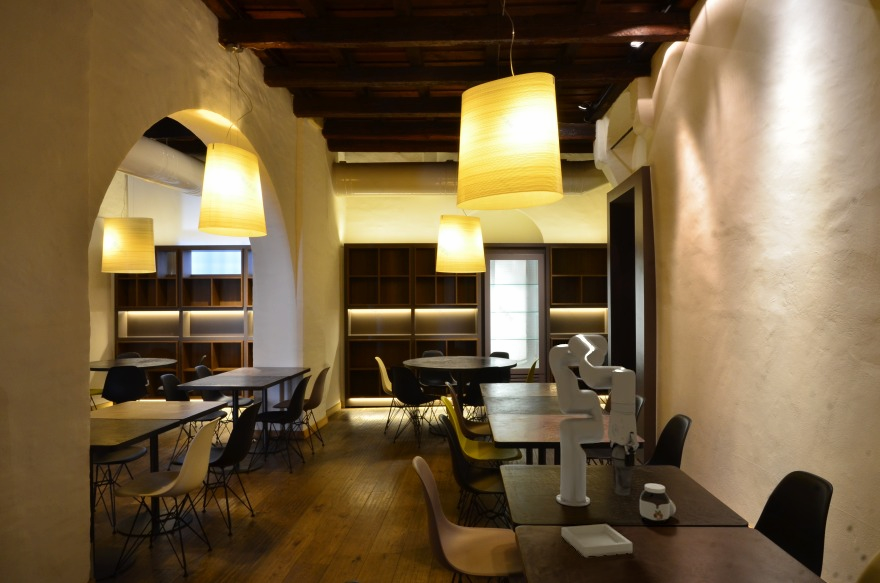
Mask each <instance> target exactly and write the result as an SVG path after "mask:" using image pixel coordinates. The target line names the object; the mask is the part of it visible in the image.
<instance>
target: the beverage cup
mask: <svg viewBox="0 0 880 583" xmlns="http://www.w3.org/2000/svg"><path fill="white" fill-rule="evenodd" d="M630 447H631V446H628V448H629V449H630ZM625 454H626V450H625V447H624V446H622V445H617V446H616V447H615V448H614V449H613V451H612V455H611V454H610V456H611V457H612V459H611V463H612V469H613V484H614V491H615V492H614V493H615V495H619V496H629V495H630V494H631V488H632V487H631V485H632V478H633V477H632V476H633V467H634V466H631V467H626V466H625ZM611 457H610V458H611Z"/></svg>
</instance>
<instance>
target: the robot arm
mask: <svg viewBox="0 0 880 583" xmlns="http://www.w3.org/2000/svg"><path fill="white" fill-rule="evenodd" d="M608 350H609V344H608V340H607V339H606V338H605V337H604V336H603V335H601V334H575V335H574V336H572V337H570V339H569V340H568V342H567V344H566V343H565V344H559V345H555V346H552V348H550V351H549V353H548V363H549V366H550V370H551V373H552V375H553V377H554V381H555V388H556V394H557V402H558V407H559V410H560V412H561V413H562V414H563V415H569V416H577V415H578V416H582V415H584V416H586V417H571V418H564V419H563V420H561V421H560V422H559V424H558V427H557V428H558V437H559V443H560V486H559V489H560V490H559V491H560V494H558V495H556V497H555V499H556V501H557V502H558V503H559V504H561V505H565V506H568V507H584V506H588V505H589V504H591V500H590V498H589V497H588V496H587V454H586V452H585V451H584V449H583V448H582V446H581V444H595V443H596V444H597V443H601V442H602V441H604V438H605V431H606V430H605V424H604V418H603V412H602V410H603V409H602V405H601V401H600V397H599V395H598V394H597V392H595V391H593V390H592V389H594V390H609V389H610V390H611V392H610V394H611V395H610V397H611V398H610V412H609V417H608V429H607V437H608V440H609V442H610V456H611V455H612V451H613V449H614V448H615V447H616V446H617V445H622V446H624V447H625V450H626V454H625V466H626V467H631V466H633V467H635V463H636V462H635V461H636V460H635V454H636V453H637V450H638V447H640V443H639V441H638V440H637V439H638V438H637V436H638V435H637V434H638V433H637V419H636V388H637V387H636V384H637V383H636V382H637V381H636V379H637V378H636V376H637V375H636V373H635V371H634V370H631V369H627V368H625V367H623V366H621V365H620V366H618V365H617V366H616V365H614V366H613V365H609V366H607V365H604V366H603V363H604V362H605V357H606V355H607V354H608ZM569 367H578V371H579V376H580V378H581V380H582V381H583V382H584V384H586V386H588V388H591V390H590V389H580V387H579V382H578V378H577V376H576V374H575V373H574V372H573V371H572V369H571V368H569ZM628 447H630V449H629V448H628ZM610 459H611V460H612V457H610Z"/></svg>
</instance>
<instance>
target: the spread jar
mask: <svg viewBox="0 0 880 583" xmlns="http://www.w3.org/2000/svg"><path fill="white" fill-rule="evenodd" d="M639 496H640V497H639V513H640V516H641V517H642V518H643V519H644V520H645V521H648V522H649V521H650V522H649V523H653V522H656V523H655V524H662V523H661V522H663V523H664V522H667V520H668V519H669V518H670V517H672V516H673V515H674V514H675V513H676V511H677V510H676V509H677V507H676V504H675V503H674V501H672V500H671V499H670V497H669V496H668V494H667V493H666V486H664V485H662V484H659V483H650V482H649V483H645V484H644V490H643V491H642V492H641V494H640V495H639Z"/></svg>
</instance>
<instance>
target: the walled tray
mask: <svg viewBox="0 0 880 583" xmlns="http://www.w3.org/2000/svg"><path fill="white" fill-rule="evenodd" d="M561 536H562V537H563V538H564V540H565V542H567V543H568V542H569V543H570V544H571V545H572V546H573V547H574V548H575V549H576V551H577V550H578V551H579V552H580V553H581V554H582V555H583V556H584V557H585V558H589V557H588V556H596V557H604V556H603V555H607V556H617V555H616V554H618V555H626V553H628V554H633V547H634V546H633V545H634V544H633V542H632V541H631V540H629V539H627V538H626V537H625V536H623V535H622V534H621V533H619V532H618V531H617V530H615V528H613V527H611V525H609V524H608V523H602V524H591V525H590V524H588V525H575V526H574V525H573V526H566V527H565V526H564V527H563V526H562V527H561ZM562 537H561V538H562ZM563 538H562V539H563ZM569 543H568V544H569ZM570 544H569V545H570ZM571 545H570V546H571ZM572 546H571V547H572ZM573 547H572V548H573ZM574 548H573V549H574ZM575 549H574V550H575ZM578 551H577V552H578ZM579 552H578V553H579ZM580 553H579V554H580ZM581 554H580V555H581ZM582 555H581V556H582ZM583 556H582V557H583ZM584 557H583V558H584Z"/></svg>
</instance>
